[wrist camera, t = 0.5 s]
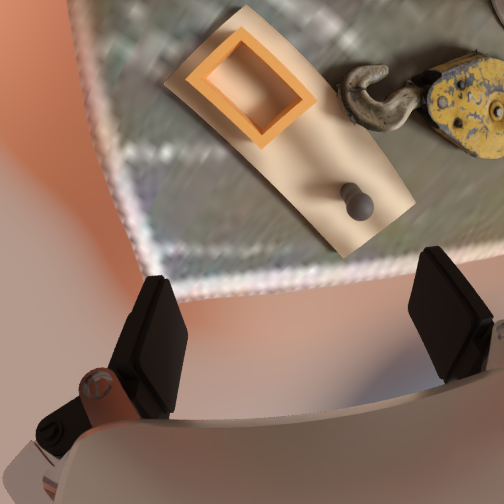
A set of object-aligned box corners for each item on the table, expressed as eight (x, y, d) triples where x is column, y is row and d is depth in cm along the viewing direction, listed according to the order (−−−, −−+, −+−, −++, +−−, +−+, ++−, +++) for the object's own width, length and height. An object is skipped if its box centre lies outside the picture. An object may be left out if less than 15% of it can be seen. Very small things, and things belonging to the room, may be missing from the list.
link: (243, 31, 24) (241, 26, 21) (312, 98, 28) (317, 100, 25) (192, 78, 27) (185, 79, 24) (261, 142, 30) (261, 149, 28)
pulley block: (343, 26, 19) (550, 77, 17) (326, 26, 24) (522, 65, 21) (346, 166, 29) (533, 169, 26) (332, 145, 33) (510, 150, 31)
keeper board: (246, 7, 23) (243, -10, 18) (411, 198, 35) (436, 223, 29) (167, 83, 28) (145, 86, 22) (341, 252, 40) (353, 285, 34)
